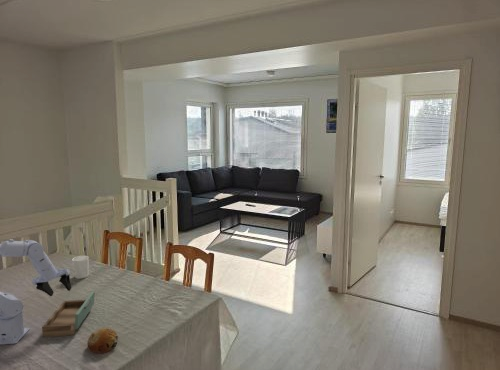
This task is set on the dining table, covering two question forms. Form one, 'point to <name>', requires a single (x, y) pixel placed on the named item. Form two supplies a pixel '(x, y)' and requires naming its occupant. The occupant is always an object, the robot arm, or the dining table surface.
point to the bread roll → (102, 340)
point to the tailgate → (84, 310)
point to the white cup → (81, 266)
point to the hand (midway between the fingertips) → (61, 291)
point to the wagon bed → (63, 319)
